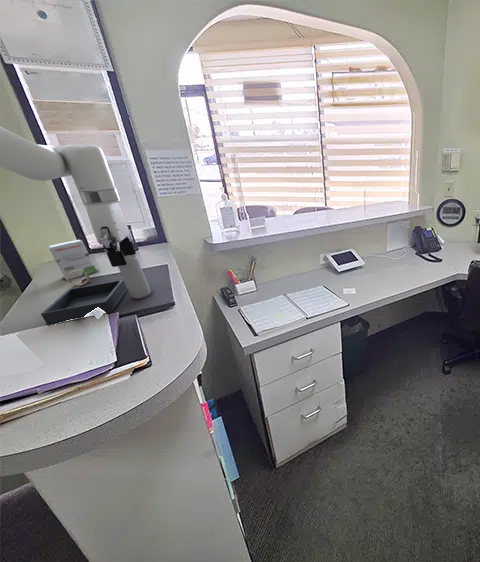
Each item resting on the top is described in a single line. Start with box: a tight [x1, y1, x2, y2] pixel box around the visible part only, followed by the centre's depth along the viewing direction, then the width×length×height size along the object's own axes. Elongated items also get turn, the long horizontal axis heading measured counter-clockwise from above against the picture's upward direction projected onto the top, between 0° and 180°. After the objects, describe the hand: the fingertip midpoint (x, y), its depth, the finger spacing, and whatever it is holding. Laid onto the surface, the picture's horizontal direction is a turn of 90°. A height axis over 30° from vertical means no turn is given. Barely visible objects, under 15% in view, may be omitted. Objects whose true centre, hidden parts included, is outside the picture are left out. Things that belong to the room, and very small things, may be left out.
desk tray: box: [40, 279, 128, 326], centre depth 86 cm, size 13×16×3 cm
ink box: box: [47, 239, 98, 281], centre depth 107 cm, size 9×5×12 cm, turn 141°
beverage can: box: [117, 254, 152, 300], centre depth 88 cm, size 5×5×12 cm
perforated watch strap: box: [67, 270, 90, 287], centre depth 100 cm, size 3×5×5 cm, turn 147°
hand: (124, 260), depth 86 cm, fingers open, 9 cm apart
